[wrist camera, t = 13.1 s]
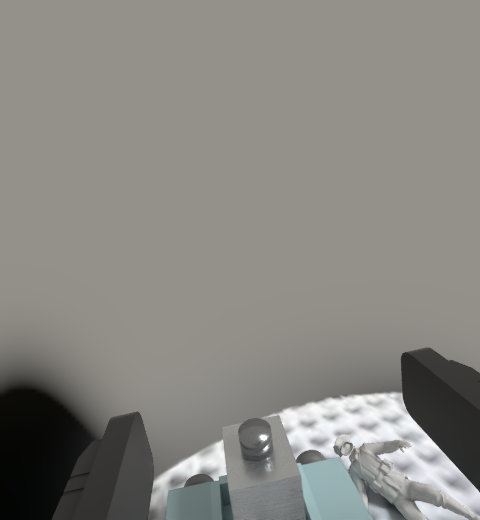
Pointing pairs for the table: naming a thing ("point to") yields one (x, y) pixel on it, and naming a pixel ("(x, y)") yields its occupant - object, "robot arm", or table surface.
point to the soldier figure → (393, 479)
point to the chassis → (313, 483)
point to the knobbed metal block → (262, 471)
